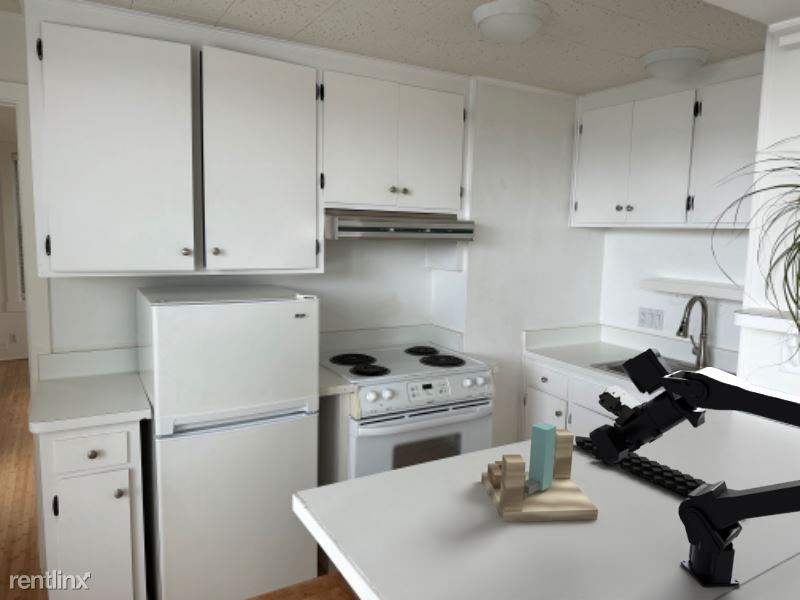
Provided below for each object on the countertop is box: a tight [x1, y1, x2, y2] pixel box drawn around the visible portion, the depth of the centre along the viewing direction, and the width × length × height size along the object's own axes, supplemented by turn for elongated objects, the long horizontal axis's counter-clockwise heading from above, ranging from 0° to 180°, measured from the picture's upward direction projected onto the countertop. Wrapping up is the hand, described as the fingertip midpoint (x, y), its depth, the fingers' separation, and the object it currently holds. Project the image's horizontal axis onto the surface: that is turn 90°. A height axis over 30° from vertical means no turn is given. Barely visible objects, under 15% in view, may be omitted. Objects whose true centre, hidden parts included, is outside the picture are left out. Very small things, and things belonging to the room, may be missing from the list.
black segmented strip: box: [574, 435, 708, 498], centre depth 130 cm, size 11×40×4 cm, turn 33°
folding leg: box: [525, 421, 557, 495], centre depth 115 cm, size 7×4×13 cm, turn 132°
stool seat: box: [480, 428, 599, 523], centre depth 116 cm, size 17×19×12 cm
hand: (595, 454), depth 107 cm, fingers closed
